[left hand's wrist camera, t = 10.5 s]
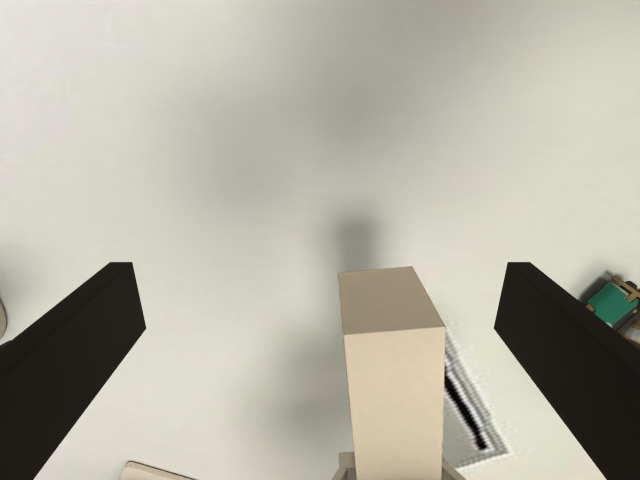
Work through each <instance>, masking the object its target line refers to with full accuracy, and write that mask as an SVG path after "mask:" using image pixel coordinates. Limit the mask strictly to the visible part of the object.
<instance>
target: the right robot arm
mask: <svg viewBox="0 0 640 480" xmlns="http://www.w3.org/2000/svg"><path fill="white" fill-rule="evenodd" d="M332 480H357V478H356V467H355V456H354V452H341V453H339V469H338V470H337V472H336V474H335V475H334V477H333V479H332ZM441 480H466V479H465V478H464V477H463V476H462V475H461V474H460V473H458V472H457V471H456V470H455V469H454V468H453V467H452V466H451V465H450V464H449V463H448V462H445V460H444V457H443V454H442V471H441Z"/></svg>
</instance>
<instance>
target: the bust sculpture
mask: <svg viewBox="0 0 640 480" xmlns="http://www.w3.org/2000/svg"><path fill="white" fill-rule="evenodd" d="M5 328H6V317H5V312H4V309H3V307H2V305H1V303H0V338H1V337H2V336H3V334H4V331H5Z"/></svg>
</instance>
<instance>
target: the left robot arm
mask: <svg viewBox="0 0 640 480" xmlns="http://www.w3.org/2000/svg"><path fill="white" fill-rule="evenodd" d="M145 329H146V325H145V320H144V316H143V311H142V306H141V302H140V297H139V292H138V287H137V283H136V278H135V273H134V269H133V264H132V262H110V263H109V264H107V265H106V266H105V267H104V268H102V269H101V270H100V271H99V272H97V273H96V274H95V275H93V276H92V277H91V278H90V279H88V280H87V281H86V282H85V283H83V284H82V285H81V286H80V287H78V288H77V289H76V290H75V291H73V292H72V293H71V294H70V295H68V296H67V297H66V298H64V299H63V300H62V301H61V302H59V303H58V304H57V305H56V306H54V307H53V308H52V309H51V310H49V311H48V312H47V313H46V314H44V315H43V316H42V317H41V318H39V319H38V320H37V321H36V322H34V323H33V324H32V325H30V326H29V327H28V328H27V329H25V330H24V331H23V332H22V333H20V334H19V335H18V336H17V337H15V338H14V339H13V340H10V341H8V342H6V343H4V344H2V345H0V480H33V479H34V478H35V477H36V475H37V474H38V473H39V471H40V470H41V469H42V467H43V466H44V464H45V463H46V462H47V460H48V459H49V458H50V456H51V455H52V454H53V452H54V451H55V450H56V448H57V447H58V446H59V444H60V443H61V442H62V440H63V439H64V438H65V436H66V435H67V434H68V432H69V431H70V430H71V428H72V427H73V426H74V424H75V423H76V422H77V420H78V419H79V418H80V416H81V415H82V414H83V412H84V411H85V410H86V408H87V407H88V406H89V404H90V403H91V402H92V400H93V399H94V398H95V396H96V395H97V394H98V392H99V391H100V390H101V388H102V387H103V386H104V384H105V383H106V382H107V380H108V379H109V377H110V376H111V375H112V373H113V372H114V371H115V369H116V368H117V367H118V365H119V364H120V363H121V361H122V360H123V359H124V357H125V356H126V355H127V353H128V352H129V351H130V349H131V348H132V347H133V345H134V344H135V343H136V341H137V340H138V339H139V337H140V336H141V335H142V333H143V332H144V331H145ZM494 329H495V331H496V332H497V333H498V335H499V336H500V337H501V339H502V340H503V341H504V343H505V344H506V345H507V347H508V348H509V349H510V351H511V352H512V353H513V355H514V356H515V357H516V359H517V360H518V361H519V363H520V364H521V365H522V367H523V368H524V369H525V371H526V372H527V373H528V375H529V376H530V377H531V379H532V380H533V382H534V383H535V384H536V386H537V387H538V388H539V390H540V391H541V392H542V394H543V395H544V396H545V398H546V399H547V400H548V402H549V403H550V404H551V406H552V407H553V408H554V410H555V411H556V412H557V414H558V415H559V416H560V418H561V419H562V420H563V422H564V423H565V424H566V426H567V427H568V428H569V430H570V431H571V432H572V434H573V435H574V436H575V438H576V439H577V440H578V442H579V443H580V444H581V446H582V447H583V448H584V450H585V451H586V452H587V454H588V455H589V456H590V458H591V459H592V460H593V462H594V463H595V464H596V466H597V467H598V469H599V470H600V471H601V473H602V474H603V475H604V477H605V478H606V479H607V480H640V344H639V343H637V342H635V341H633V340H631V339H626V338H625V337H623V336H622V335H621V334H620V333H618V332H617V331H616V330H615V329H613V328H612V327H611V326H610V325H608V324H607V323H606V322H604V321H603V320H602V319H601V318H599V317H598V316H597V315H596V314H594V313H593V312H592V311H591V310H589V309H588V308H587V307H586V306H584V305H583V304H582V303H581V302H579V301H578V300H577V299H576V298H574V297H573V296H572V295H570V294H569V293H568V292H567V291H565V290H564V289H563V288H562V287H560V286H559V285H558V284H557V283H555V282H554V281H553V280H552V279H550V278H549V277H548V276H547V275H545V274H544V273H543V272H541V271H540V270H539V269H538V268H536V267H535V266H534V265H533V264H531V263H530V262H508V264H507V269H506V273H505V278H504V283H503V287H502V292H501V297H500V302H499V306H498V311H497V316H496V320H495V325H494Z"/></svg>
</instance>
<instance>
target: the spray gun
mask: <svg viewBox="0 0 640 480" xmlns="http://www.w3.org/2000/svg"><path fill="white" fill-rule="evenodd" d="M613 279H614V280H615V281H617V282H618V283H619V284H621V286H620V287H619V286H617V285H616V284H614V283H613V282H611V283H610V282H609V283H608V284H607V285H606V286H604V287H603V288H602V289H601V290H600V291H599V292H597V293H596V294H595V295H594V296H593V297H592V298H590V299H589V300H588V301H587V303H588V304H587V305H586V307H587V308H588V309H589V310H591V311H592V312H593V313H594V314H596V315H597V316H598V317H599V318H601V319H602V320H603V321H604V322H606V323H607V324H608V325H610V326H611V327H612V328H613V329H615V330H616V331H617V332H618V333H620V334H621V335H622V336H623V337H625V338H626V339H631V340H633V341H635V342H637V343H639V344H640V293H639V292H640V289H637V285H635V284H634V283H632V282H631V281H626V282H623V281H622V280H621V279H619V278H618V277H616V276H614V277H613Z"/></svg>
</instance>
